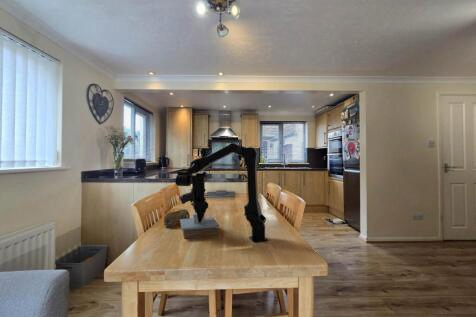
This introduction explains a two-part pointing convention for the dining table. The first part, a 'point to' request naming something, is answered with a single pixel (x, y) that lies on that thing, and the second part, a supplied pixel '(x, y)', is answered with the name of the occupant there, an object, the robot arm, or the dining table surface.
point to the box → (199, 233)
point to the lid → (194, 224)
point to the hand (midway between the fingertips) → (198, 220)
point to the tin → (175, 217)
